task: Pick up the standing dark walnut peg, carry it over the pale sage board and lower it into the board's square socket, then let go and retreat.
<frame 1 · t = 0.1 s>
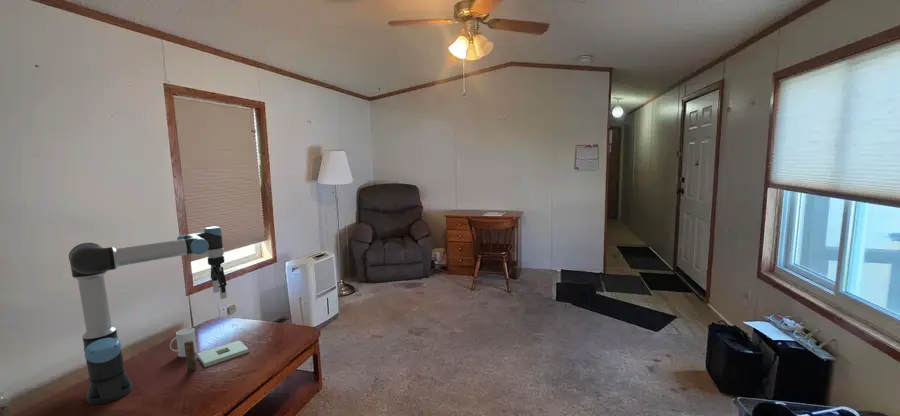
hand: (220, 295, 215), 28 cm above the table, fingers open, 13 cm apart
mug: (184, 354, 210), on the table
peg: (192, 369, 194), on the table
socket board: (223, 354, 208), on the table
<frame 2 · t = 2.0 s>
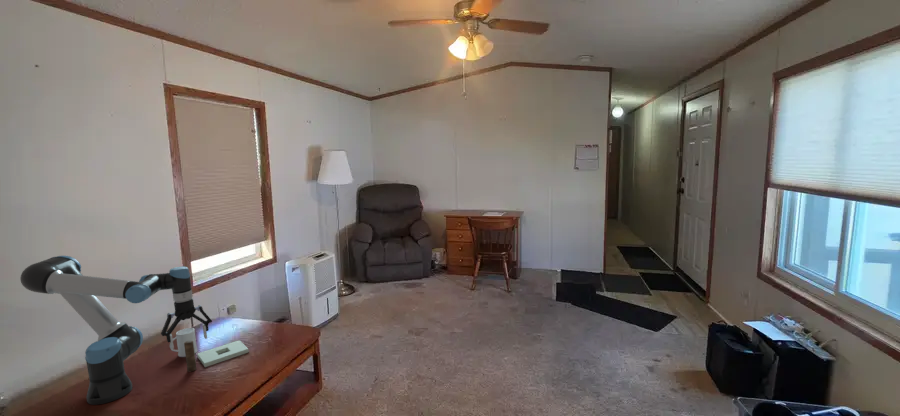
hand: (189, 342, 192), 14 cm above the table, fingers open, 13 cm apart
nothing on the table moved.
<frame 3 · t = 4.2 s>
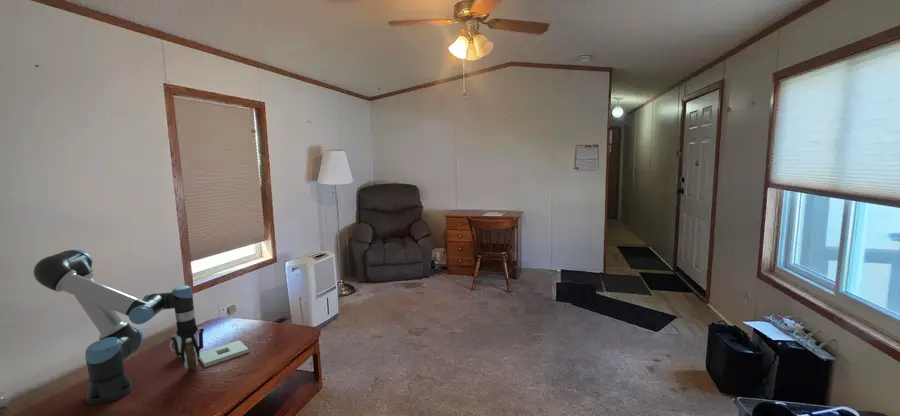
hand: (191, 365, 194), 2 cm above the table, fingers closed on peg, 3 cm apart
peg: (192, 369, 194), on the table, touching gripper
everything else where it was.
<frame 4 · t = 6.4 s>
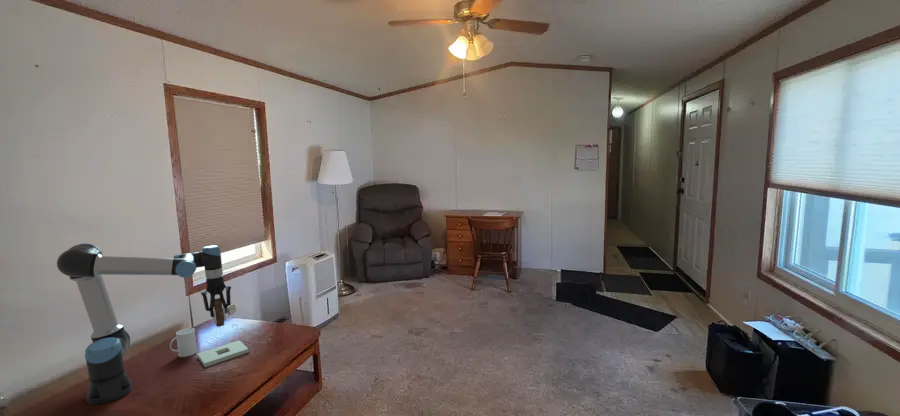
hand: (219, 321, 206), 18 cm above the table, fingers closed on peg, 3 cm apart
peg: (220, 325, 206), point 16 cm above the table, touching gripper
everything else where it was.
when the fingers open (3 cm above the table, at t = 8.8 s): peg stays where it is, resting in socket board.
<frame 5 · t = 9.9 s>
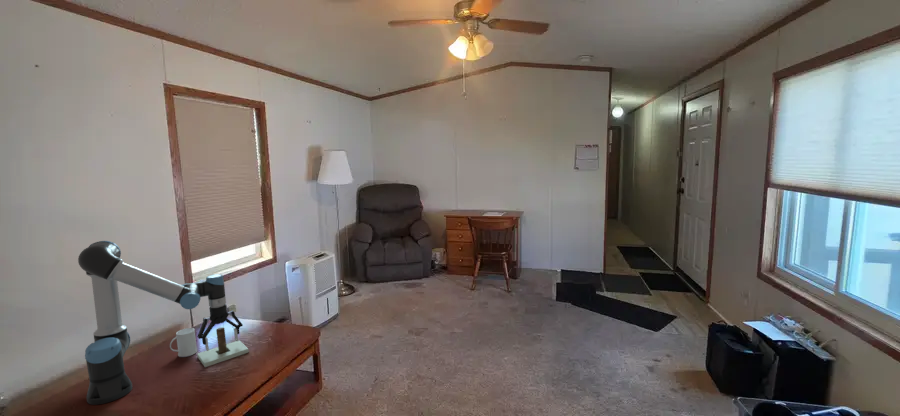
hand: (222, 345, 207), 5 cm above the table, fingers open, 13 cm apart
peg: (223, 354, 208), resting in socket board
everything else where it was.
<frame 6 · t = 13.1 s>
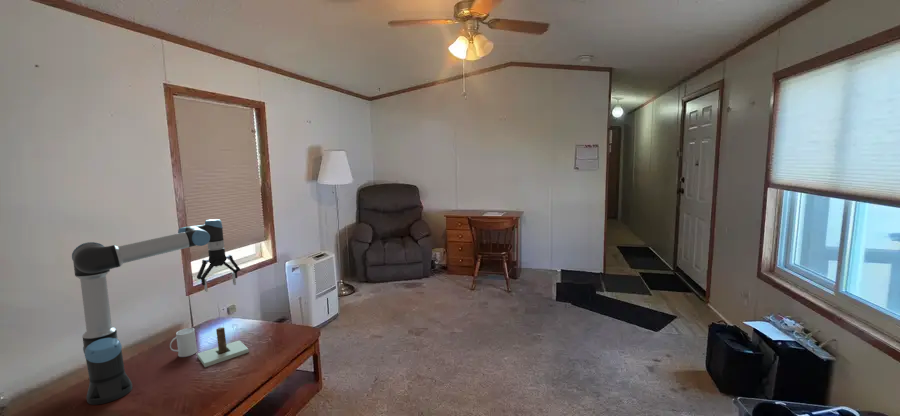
hand: (220, 287, 216), 32 cm above the table, fingers open, 13 cm apart
nothing on the table moved.
at the end: peg 0.1 cm off-centre on the socket board, point 0.0 cm above the socket board's base; peg tilted 0°; the gripper is holding nothing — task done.
